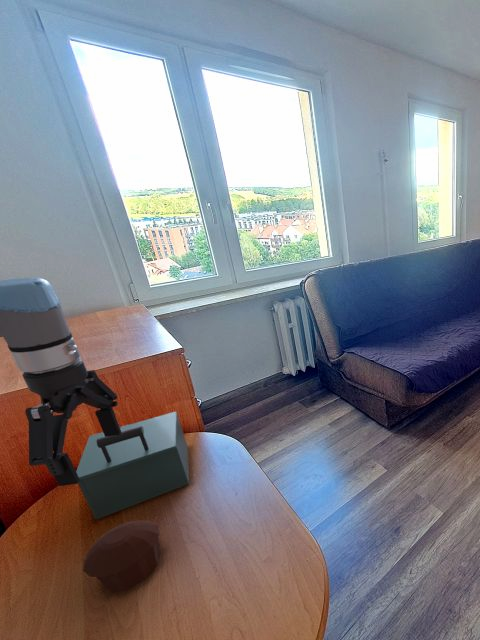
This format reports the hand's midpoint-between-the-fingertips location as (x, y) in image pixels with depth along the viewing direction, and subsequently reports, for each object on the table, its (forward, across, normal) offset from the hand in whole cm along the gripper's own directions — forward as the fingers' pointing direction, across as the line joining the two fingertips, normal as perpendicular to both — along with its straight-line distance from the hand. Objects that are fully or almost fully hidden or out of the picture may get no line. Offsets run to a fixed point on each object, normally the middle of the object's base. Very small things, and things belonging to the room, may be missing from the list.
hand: (93, 456), depth 67 cm
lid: (+10, +17, +4) cm, 20 cm away
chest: (+23, +17, +4) cm, 29 cm away
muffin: (+23, -8, -5) cm, 25 cm away
